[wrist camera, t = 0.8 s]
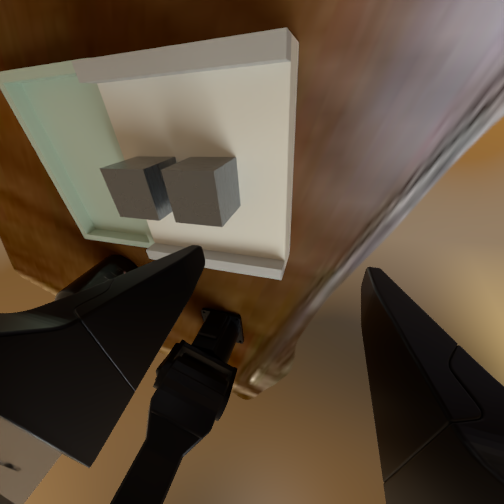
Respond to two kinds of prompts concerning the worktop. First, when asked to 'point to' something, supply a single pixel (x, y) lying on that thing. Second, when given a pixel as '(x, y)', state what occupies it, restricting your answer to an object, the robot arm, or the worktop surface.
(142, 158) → the gray cube
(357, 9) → the worktop surface
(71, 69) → the tray
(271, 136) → the channel
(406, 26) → the worktop surface
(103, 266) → the supplement bottle
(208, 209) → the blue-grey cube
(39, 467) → the robot arm
